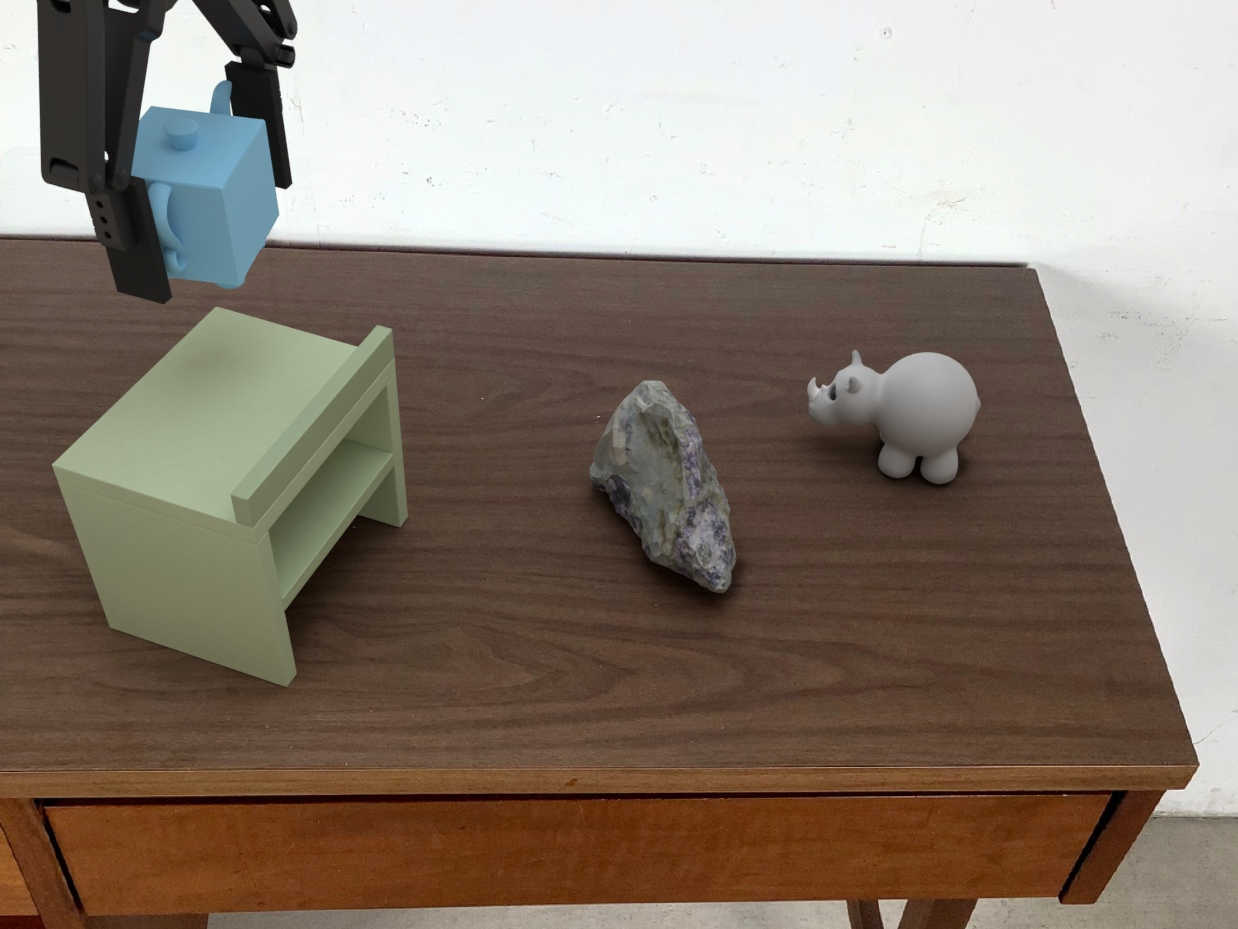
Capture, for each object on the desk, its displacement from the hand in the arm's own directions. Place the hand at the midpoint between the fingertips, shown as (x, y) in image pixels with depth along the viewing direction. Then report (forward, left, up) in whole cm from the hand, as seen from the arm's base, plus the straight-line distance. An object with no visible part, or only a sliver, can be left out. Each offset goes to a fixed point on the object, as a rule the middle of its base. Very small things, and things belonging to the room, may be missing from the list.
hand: (210, 235), depth 69 cm
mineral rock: (+25, +8, -21) cm, 33 cm away
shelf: (+3, -5, -20) cm, 21 cm away
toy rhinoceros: (+37, +23, -21) cm, 48 cm away
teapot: (0, 0, -1) cm, 1 cm away
